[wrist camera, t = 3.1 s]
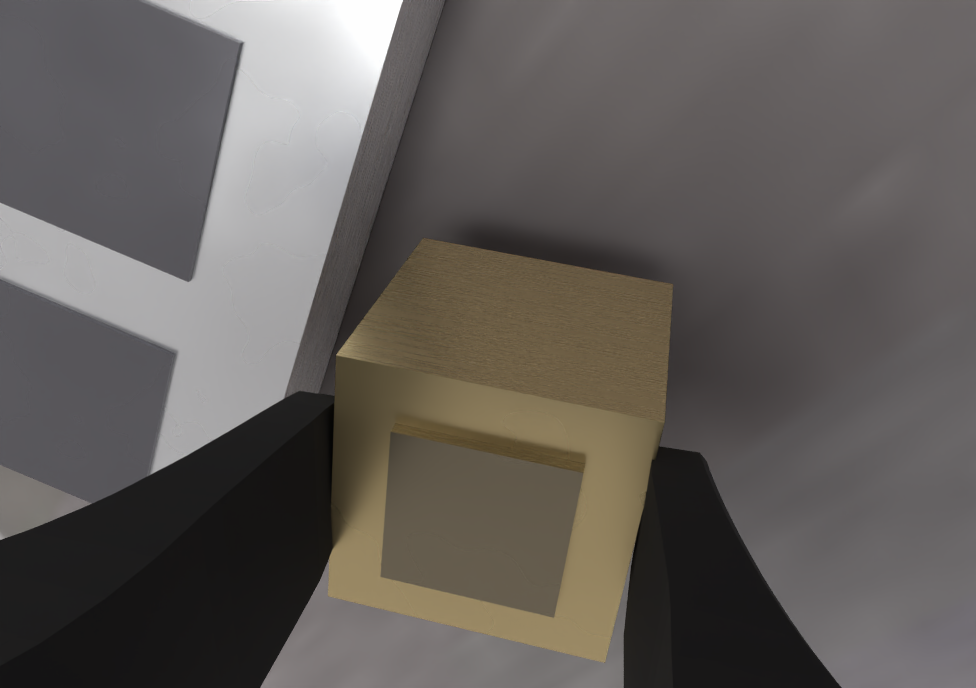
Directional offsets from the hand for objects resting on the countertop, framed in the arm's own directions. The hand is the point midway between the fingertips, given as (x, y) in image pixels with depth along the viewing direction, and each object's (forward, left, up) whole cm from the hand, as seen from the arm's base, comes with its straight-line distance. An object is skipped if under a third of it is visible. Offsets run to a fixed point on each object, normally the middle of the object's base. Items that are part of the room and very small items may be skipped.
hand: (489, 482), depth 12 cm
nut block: (0, 0, -3) cm, 3 cm away
